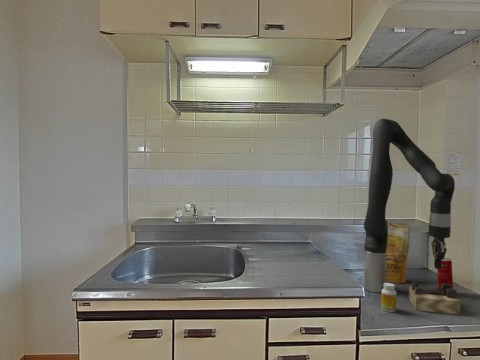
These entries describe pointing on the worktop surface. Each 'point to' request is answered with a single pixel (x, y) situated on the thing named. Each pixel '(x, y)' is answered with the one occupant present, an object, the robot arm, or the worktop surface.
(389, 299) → the supplement bottle
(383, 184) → the robot arm
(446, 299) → the oak box
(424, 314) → the worktop surface
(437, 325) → the worktop surface
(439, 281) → the beverage can
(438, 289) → the bar
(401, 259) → the pancake mix bag
